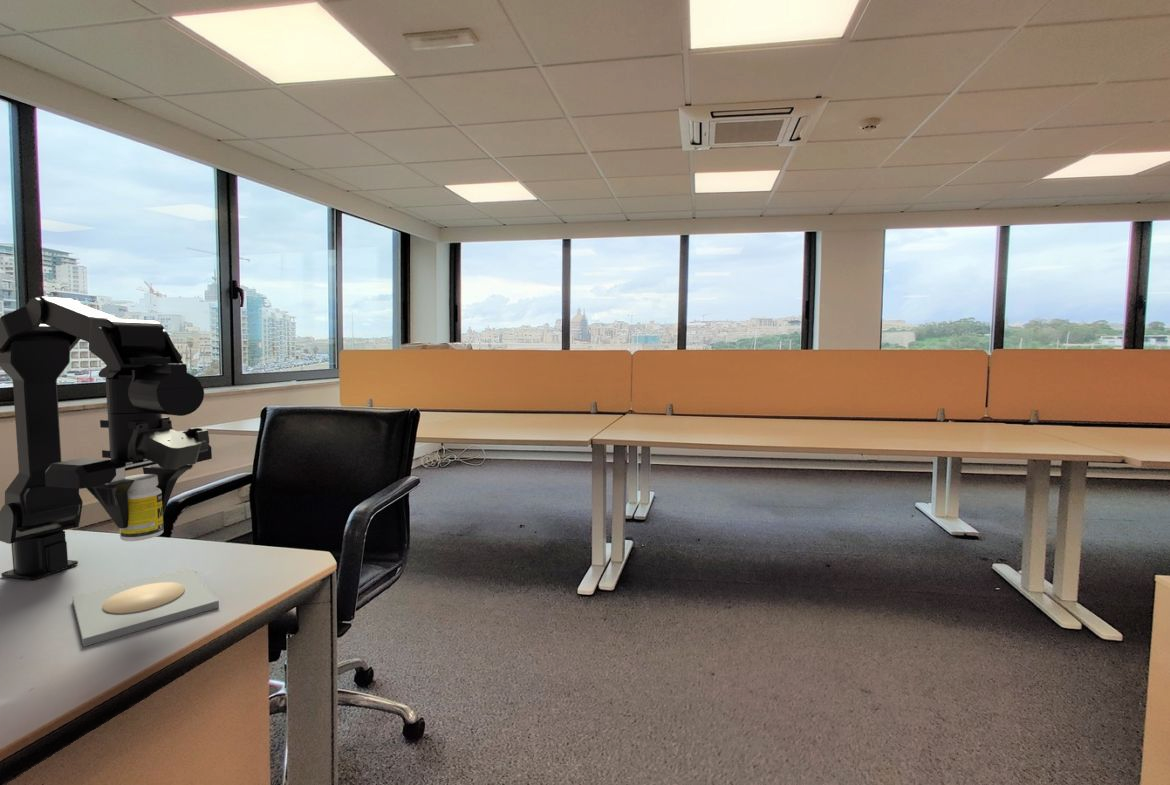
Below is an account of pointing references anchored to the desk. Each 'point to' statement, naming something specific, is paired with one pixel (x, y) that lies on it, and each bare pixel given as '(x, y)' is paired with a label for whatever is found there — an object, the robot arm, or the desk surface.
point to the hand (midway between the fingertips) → (141, 522)
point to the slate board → (141, 605)
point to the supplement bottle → (143, 509)
